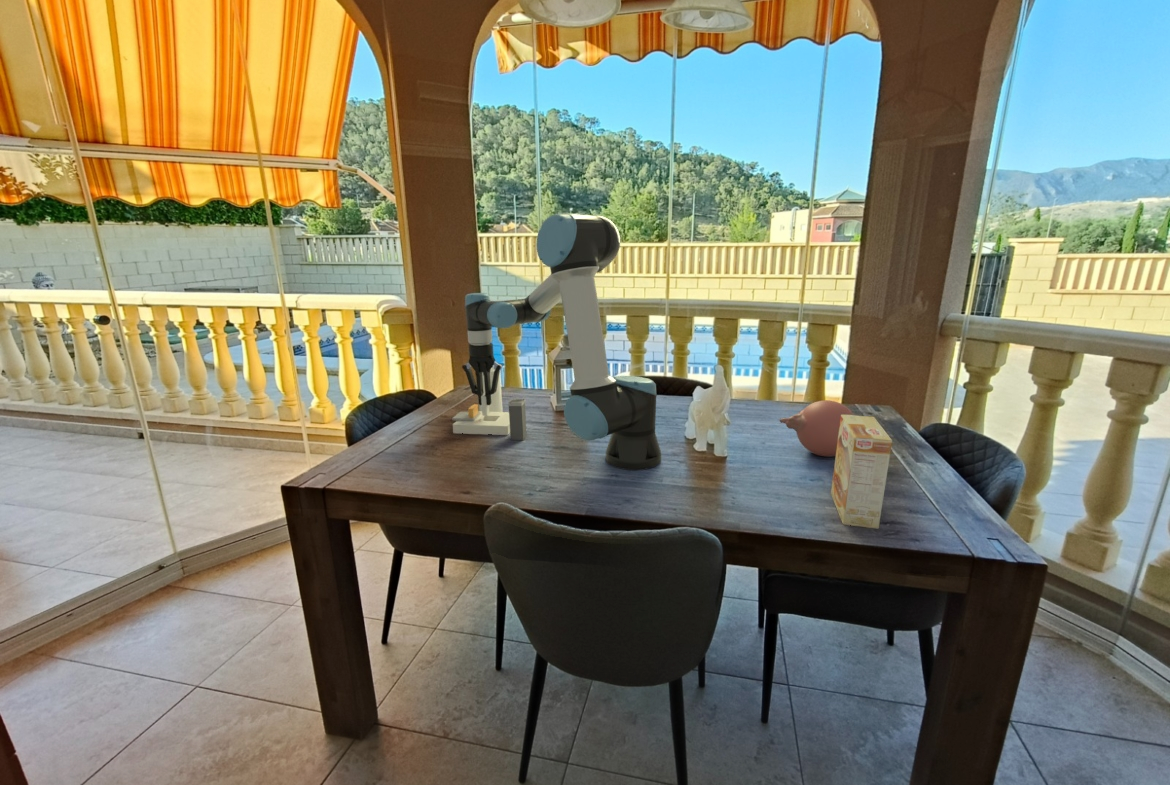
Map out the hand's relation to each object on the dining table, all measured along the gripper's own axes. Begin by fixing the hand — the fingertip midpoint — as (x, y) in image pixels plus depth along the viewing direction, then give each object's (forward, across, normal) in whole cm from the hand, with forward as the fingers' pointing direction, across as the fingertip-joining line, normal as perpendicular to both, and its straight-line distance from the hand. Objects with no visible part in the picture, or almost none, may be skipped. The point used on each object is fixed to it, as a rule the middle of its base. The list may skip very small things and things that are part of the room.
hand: (486, 414), depth 165 cm
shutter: (+1, +7, 0) cm, 7 cm away
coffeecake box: (+6, -98, +46) cm, 108 cm away
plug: (+5, -13, +9) cm, 16 cm away
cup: (+5, +4, -16) cm, 17 cm away
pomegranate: (+5, -99, +14) cm, 100 cm away
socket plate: (+4, 0, 0) cm, 4 cm away
